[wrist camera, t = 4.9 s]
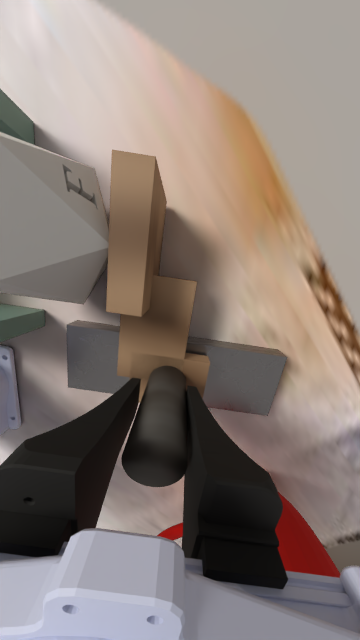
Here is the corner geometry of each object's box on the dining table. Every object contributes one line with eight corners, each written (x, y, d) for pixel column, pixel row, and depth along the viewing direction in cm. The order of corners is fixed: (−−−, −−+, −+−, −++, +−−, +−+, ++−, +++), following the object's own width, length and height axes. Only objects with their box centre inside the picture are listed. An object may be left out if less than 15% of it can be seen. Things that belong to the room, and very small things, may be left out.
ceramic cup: (154, 437, 19) (123, 608, 9) (307, 456, 19) (435, 645, 9) (146, 516, 22) (116, 703, 12) (276, 532, 22) (346, 730, 13)
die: (124, 308, 16) (141, 240, 7) (-1, 327, 12) (-275, 237, 4) (106, 229, 17) (102, 86, 8) (-13, 225, 13) (-243, -34, 5)
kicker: (197, 390, 17) (210, 505, 8) (126, 380, 17) (67, 485, 8) (233, 212, 13) (325, 94, 4) (139, 197, 13) (54, 49, 4)
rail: (260, 403, 17) (267, 415, 16) (77, 377, 17) (67, 387, 16) (277, 349, 16) (287, 357, 14) (77, 320, 16) (66, 324, 14)
